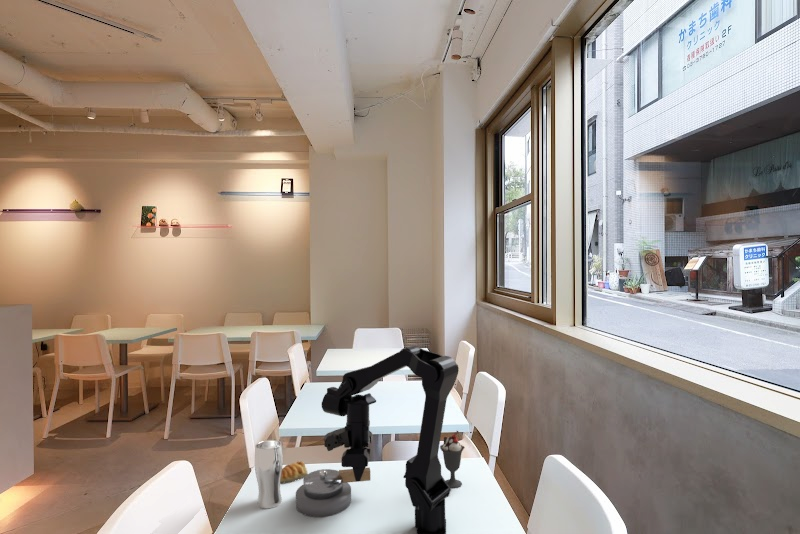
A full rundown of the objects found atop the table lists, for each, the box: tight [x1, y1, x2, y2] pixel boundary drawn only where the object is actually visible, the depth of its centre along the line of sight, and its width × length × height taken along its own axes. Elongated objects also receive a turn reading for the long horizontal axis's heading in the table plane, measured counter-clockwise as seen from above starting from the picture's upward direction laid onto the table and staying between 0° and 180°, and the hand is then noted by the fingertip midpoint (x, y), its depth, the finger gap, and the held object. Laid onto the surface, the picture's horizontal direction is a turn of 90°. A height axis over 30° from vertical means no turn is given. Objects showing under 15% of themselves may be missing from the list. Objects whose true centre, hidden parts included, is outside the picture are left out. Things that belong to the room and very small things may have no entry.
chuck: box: [302, 467, 371, 499], centre depth 120 cm, size 17×10×5 cm, turn 98°
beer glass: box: [254, 439, 284, 510], centre depth 120 cm, size 7×7×15 cm
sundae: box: [439, 430, 465, 489], centre depth 128 cm, size 7×7×15 cm
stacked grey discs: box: [295, 482, 352, 518], centre depth 120 cm, size 14×14×3 cm
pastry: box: [280, 460, 309, 484], centre depth 134 cm, size 9×7×4 cm
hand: (357, 481), depth 119 cm, fingers closed
